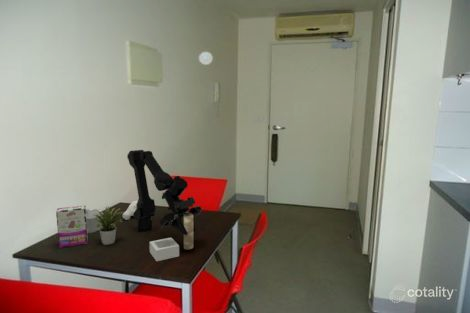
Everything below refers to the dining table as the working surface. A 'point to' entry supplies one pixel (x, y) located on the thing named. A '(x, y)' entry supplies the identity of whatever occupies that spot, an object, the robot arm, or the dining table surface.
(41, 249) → the dining table surface
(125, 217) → the penguin figurine
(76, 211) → the candy bar box
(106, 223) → the house plant
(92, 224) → the lumpy-topped squat cylinder
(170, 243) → the end cap
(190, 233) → the dowel
